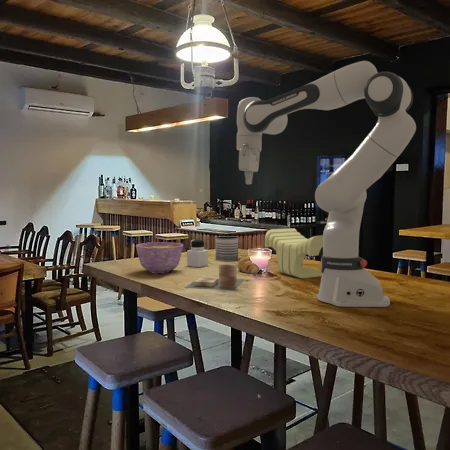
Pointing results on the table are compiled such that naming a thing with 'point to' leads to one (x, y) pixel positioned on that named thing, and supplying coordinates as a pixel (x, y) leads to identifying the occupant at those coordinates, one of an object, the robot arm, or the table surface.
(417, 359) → the table surface
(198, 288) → the board
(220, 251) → the can
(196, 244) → the medicine bottle
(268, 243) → the slatted curved stool
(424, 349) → the table surface
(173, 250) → the purple bowl
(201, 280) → the tile
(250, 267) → the croissant
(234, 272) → the tile
